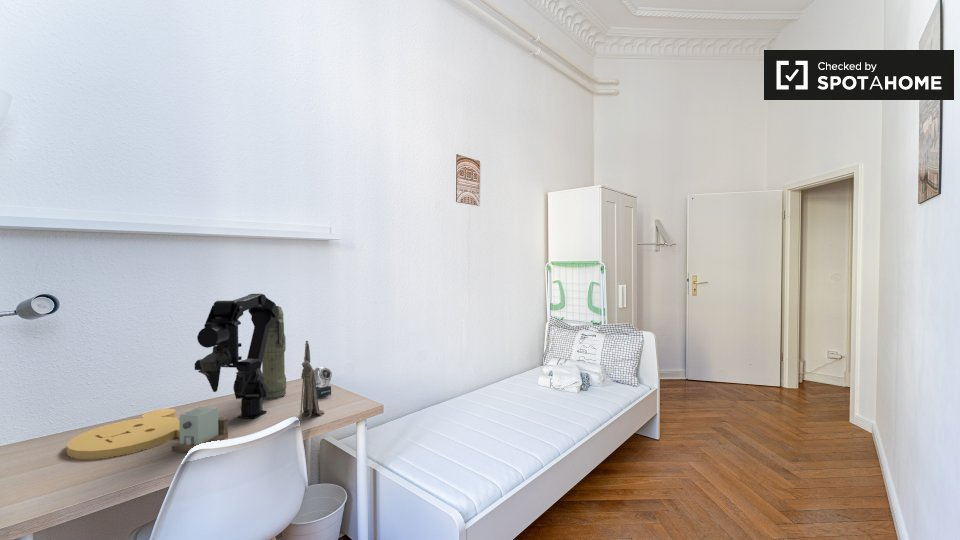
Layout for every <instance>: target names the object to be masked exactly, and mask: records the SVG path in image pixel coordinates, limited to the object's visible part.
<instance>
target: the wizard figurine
mask: <svg viewBox="0 0 960 540" xmlns="http://www.w3.org/2000/svg"><path fill="white" fill-rule="evenodd" d="M304 345H305V346H304V357H303V362H302V363H301V366H302V371H301V376H300V377H301V378H300V379H301V380H302V386H301V402H300V412H299V413H300V414H299V416H300V418H302V413H303V412H306V413H305V414H306V415H308V416H307V417H306V419H310V418H311V417H312V416H313V413H315V414H317V415H318V416H321V417H322V416H323V415H324V414H325V411H324V410H321V409H320V405H319V400H318V399H319V398H317V390H316V387H317V386H316V381H315V376H314V370H315V369H314V368H313V367H312V364H311V352H310V350H311V349H310V344H309V341H308V340H305V344H304Z"/></svg>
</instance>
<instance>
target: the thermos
mask: <svg viewBox="0 0 960 540" xmlns="http://www.w3.org/2000/svg"><path fill="white" fill-rule="evenodd" d="M276 306H277V307H278V309H279V315H278V317H277V320H276V323H275V324H274V325H273V326H272V327H271V328H270V329H269V333H268V337H267V342H266V346H265V351H264V356H263V360H262V365H261V368H262V369H261V372H262V374H263V376H264V381H263V382H264V383H265V384H266V386H267V387H268V394H267V397H263V398H262V400H274V399H273V398H276V399H279V398H278V397H281V398H283V397H285V396H286V395H287V390H286V389H287V377H286V373H285V372H286V371H285V369H286V367H285V352H286V348H287V347H286V342H287V341H286V335H285V322H284V321H285V319H284V311H283V309H282V307H281V306H280V305H276ZM285 394H286V395H285ZM284 395H285V396H284ZM282 396H283V397H282Z"/></svg>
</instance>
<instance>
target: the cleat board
mask: <svg viewBox="0 0 960 540" xmlns="http://www.w3.org/2000/svg"><path fill="white" fill-rule="evenodd" d="M228 420H229V419H228V418H220V417H218V436H216V437H214V438H212V439H210V440H208V441H206V442H211V441H217V440H221V441H223V440H225V439H227V438H228V437H229V428H228V427H229V425H228V424H229V423H228ZM206 442H204V443H206ZM194 446H196V445H194V437H190V436H188V437H186V444H180V441H179V442H177V443H175V444H173V445H171V452H174V451H176V452H175V453H177V451H178V453H188V451H189V450H190V449H191V448H193V447H194Z"/></svg>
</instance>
